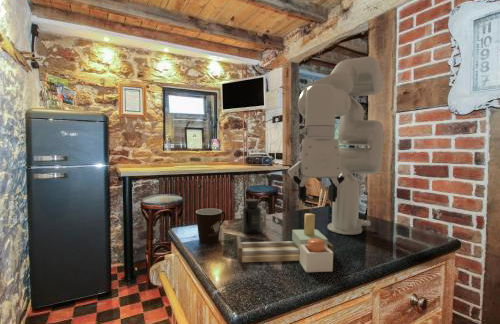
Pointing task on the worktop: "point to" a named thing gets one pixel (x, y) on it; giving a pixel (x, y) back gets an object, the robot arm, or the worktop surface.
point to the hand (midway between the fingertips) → (317, 200)
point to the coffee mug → (209, 225)
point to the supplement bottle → (251, 217)
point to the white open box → (316, 259)
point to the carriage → (307, 232)
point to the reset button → (315, 245)
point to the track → (269, 251)
